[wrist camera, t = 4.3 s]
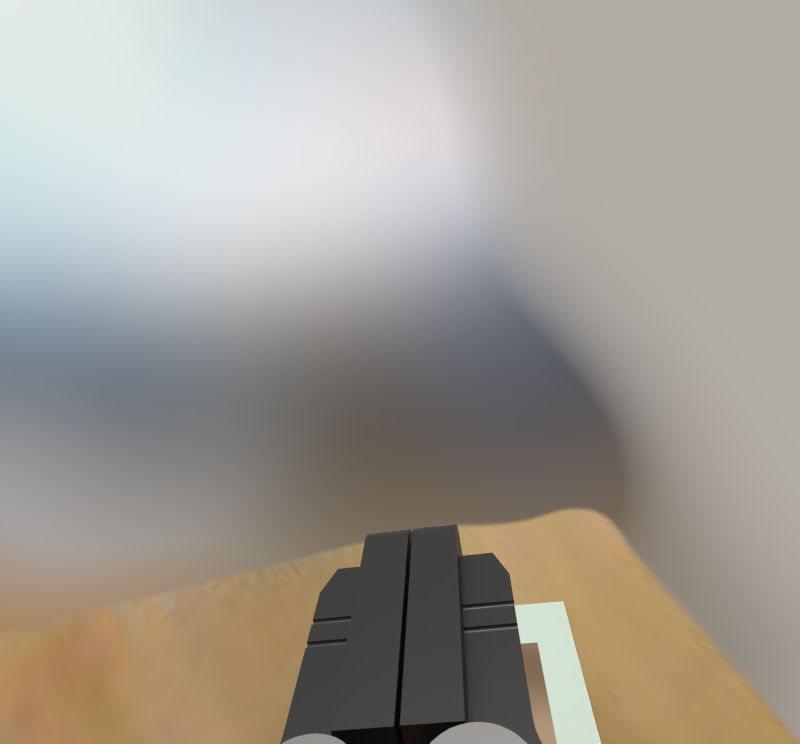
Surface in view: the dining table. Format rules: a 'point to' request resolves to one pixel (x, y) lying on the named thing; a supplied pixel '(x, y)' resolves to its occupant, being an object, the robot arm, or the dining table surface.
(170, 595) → the dining table surface
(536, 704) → the walnut block
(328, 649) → the robot arm
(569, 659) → the sage mat
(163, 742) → the dining table surface
